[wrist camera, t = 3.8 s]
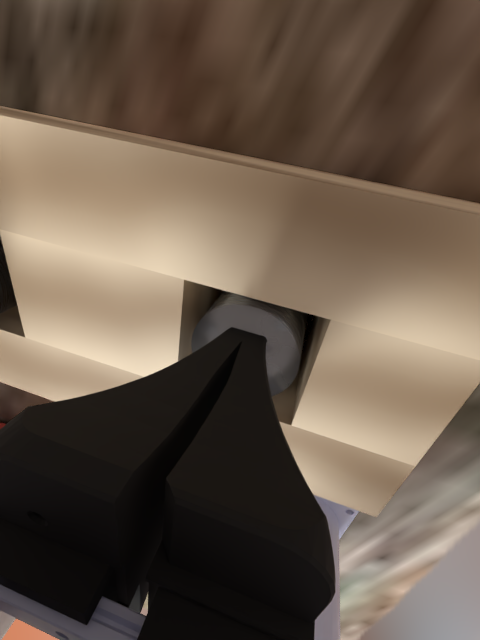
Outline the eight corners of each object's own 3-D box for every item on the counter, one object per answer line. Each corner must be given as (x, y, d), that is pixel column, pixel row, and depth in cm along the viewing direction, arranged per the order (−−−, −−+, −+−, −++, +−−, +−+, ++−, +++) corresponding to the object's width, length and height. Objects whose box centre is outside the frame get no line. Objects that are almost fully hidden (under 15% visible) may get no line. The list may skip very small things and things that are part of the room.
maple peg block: (365, 426, 17) (376, 517, 13) (-19, 304, 21) (-108, 342, 17) (491, 205, 11) (591, 238, 7) (-86, 88, 15) (-256, 61, 10)
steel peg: (296, 346, 16) (284, 411, 12) (222, 325, 16) (187, 380, 12) (319, 275, 13) (314, 324, 10) (234, 253, 14) (196, 291, 10)
